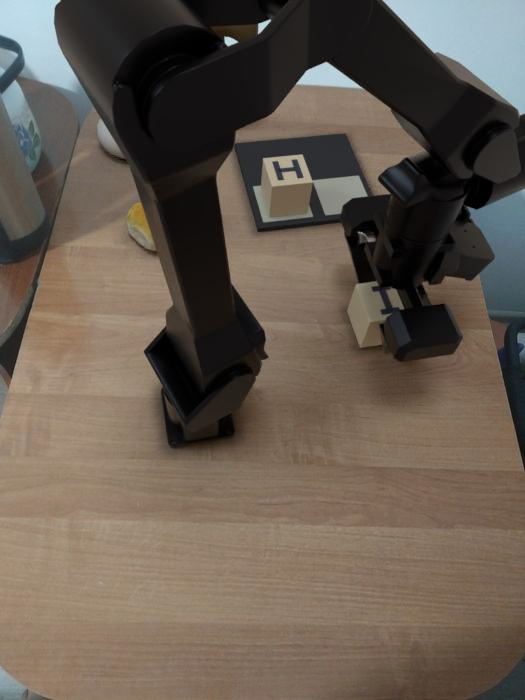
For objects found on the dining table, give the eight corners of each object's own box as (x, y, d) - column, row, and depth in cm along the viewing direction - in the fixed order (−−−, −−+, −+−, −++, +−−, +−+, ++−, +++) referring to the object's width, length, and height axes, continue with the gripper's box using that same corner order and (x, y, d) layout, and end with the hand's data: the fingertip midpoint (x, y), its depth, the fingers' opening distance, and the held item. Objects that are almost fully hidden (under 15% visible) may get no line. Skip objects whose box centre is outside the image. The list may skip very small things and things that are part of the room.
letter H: (307, 213, 70) (313, 181, 66) (269, 217, 69) (272, 185, 65) (298, 185, 73) (302, 153, 68) (260, 189, 72) (262, 157, 68)
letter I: (402, 341, 62) (416, 314, 57) (360, 348, 61) (370, 321, 57) (388, 305, 64) (400, 277, 60) (346, 311, 63) (356, 283, 59)
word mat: (380, 217, 72) (381, 213, 71) (258, 231, 69) (258, 227, 68) (344, 136, 80) (345, 132, 79) (234, 146, 77) (234, 142, 76)
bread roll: (216, 225, 69) (216, 201, 66) (160, 263, 65) (157, 240, 62) (172, 190, 72) (169, 165, 68) (116, 225, 68) (110, 201, 65)
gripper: (552, 291, 45) (477, 382, 58) (462, 140, 54) (415, 248, 68) (423, 310, 43) (376, 400, 57) (353, 150, 53) (327, 260, 66)
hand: (376, 320), depth 62 cm, fingers open, 8 cm apart
